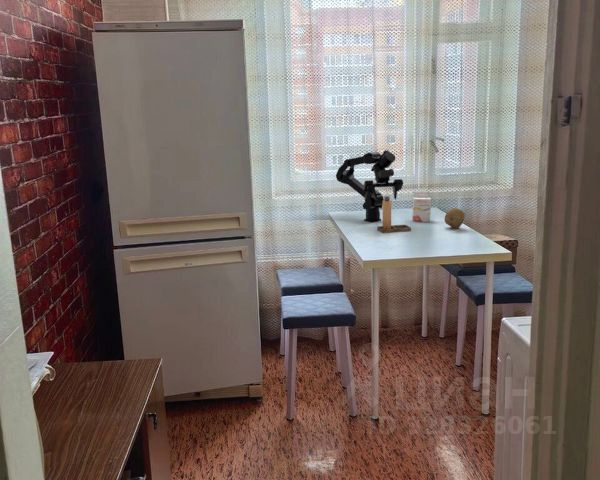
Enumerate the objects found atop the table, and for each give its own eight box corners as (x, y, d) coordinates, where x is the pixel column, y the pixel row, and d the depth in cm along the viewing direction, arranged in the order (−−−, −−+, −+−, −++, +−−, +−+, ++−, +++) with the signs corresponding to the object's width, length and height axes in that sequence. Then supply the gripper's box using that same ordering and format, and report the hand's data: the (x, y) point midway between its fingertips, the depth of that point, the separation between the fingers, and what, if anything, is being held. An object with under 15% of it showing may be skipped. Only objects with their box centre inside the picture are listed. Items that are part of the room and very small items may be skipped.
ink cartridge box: (413, 222, 311) (413, 192, 308) (412, 220, 316) (412, 191, 312) (430, 222, 310) (431, 192, 307) (429, 219, 315) (430, 191, 311)
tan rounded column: (380, 230, 292) (380, 196, 288) (387, 229, 294) (387, 195, 290) (386, 231, 288) (386, 197, 285) (393, 230, 290) (393, 196, 287)
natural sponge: (449, 231, 288) (450, 210, 286) (440, 227, 297) (441, 207, 294) (467, 230, 291) (468, 209, 288) (457, 226, 299) (458, 205, 297)
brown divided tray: (382, 234, 287) (382, 229, 286) (377, 230, 294) (377, 226, 293) (410, 231, 290) (411, 227, 290) (405, 228, 297) (405, 224, 296)
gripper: (364, 163, 297) (370, 190, 289) (402, 162, 300) (409, 188, 291) (360, 178, 307) (366, 204, 299) (397, 176, 309) (403, 202, 301)
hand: (386, 199), depth 297 cm, fingers open, 9 cm apart
